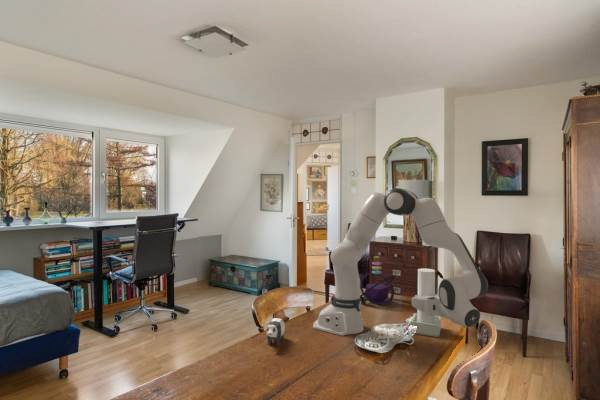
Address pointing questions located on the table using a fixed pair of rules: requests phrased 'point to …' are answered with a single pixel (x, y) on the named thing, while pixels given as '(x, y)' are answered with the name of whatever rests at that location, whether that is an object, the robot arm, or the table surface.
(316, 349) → the table surface
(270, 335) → the giant panda
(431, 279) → the cylindrical container
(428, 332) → the box
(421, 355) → the table surface
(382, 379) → the table surface
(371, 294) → the decorative bottle
